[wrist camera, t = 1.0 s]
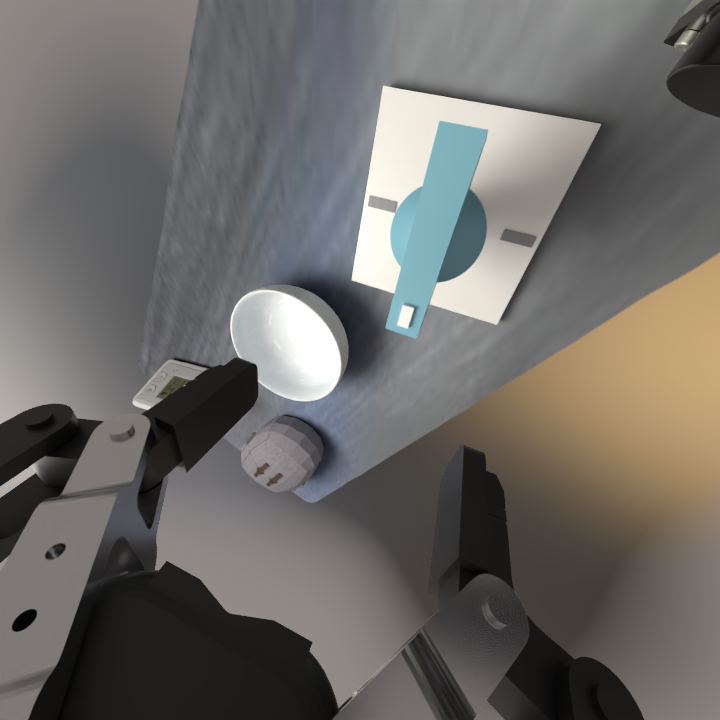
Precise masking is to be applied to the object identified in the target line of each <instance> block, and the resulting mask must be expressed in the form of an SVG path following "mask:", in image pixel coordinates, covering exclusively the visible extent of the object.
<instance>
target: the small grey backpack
mask: <svg viewBox="0 0 720 720" xmlns="http://www.w3.org/2000/svg"><path fill="white" fill-rule="evenodd" d="M244 444H245V445H244V446H243V447H242V449H241V461H242V467H243V469H244V470H245V471H246V473H247V474H248V475H249V476H250V477H251V478H253V479H254V480H255V481H256V482H257V483H259V484H260V485H262V486H263V487H265V488H266V489H268V490H270V491H273V492H275V493H277V492H282V491H291V490H292V491H295V490H297V489H299V488H300V487H302V486H303V485H304V484H305V482H306V481H307V480H308V479H309V478H310V477H311V476H312V475H313V473H314V472H315V470H316V468H317V466H318V464H319V463H320V461H321V460H322V456H323V452H324V446H323V444H322V441H321V438H320V436H319V435H318V434H317V433H316V432H315V431H314V430H313V429H312V427H311V426H309V425H308V424H306V423H304V422H302V421H301V420H299V419H297V418H293V417H288V416H284V415H283V416H280V417H278V418H276V419H274V420H271V421H269V422H268V423H267V424H266V425H265V426H264V427H262V428H261V429H260V430H259V431H258V432H254V433H252V434H251V435H250V436H249V437H248V439H247V440H246V441H245V443H244Z"/></svg>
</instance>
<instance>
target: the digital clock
mask: <svg viewBox="0 0 720 720" xmlns="http://www.w3.org/2000/svg"><path fill="white" fill-rule="evenodd" d="M207 369H210V368H206V367H202V366H198V365H195V364H191V363H187V362H185V363H184V362H180V361H177V360H168V361H167V362H166V363H165V364H164V365H163V366H162V367H161V368H160V369H159V370H158V371H157V372H156V374H155V375H154V376H153V377H152V378H151V379H150V380H149V381H148V382H147V383H146V385H145V386H144V387H143V388H142V389H141V390H140V391H139V392H138V394H137V395H136V396H135V397H134V399H133V405H135V406H137V407H139V408H142V409H145V410H149V409H150V408H151V407H153V406H154V405H156V404H157V403H159V402H160V401H162V400H163V399H165V398H166V397H167V396H169V395H170V394H172V393H173V392H175V391H176V390H178V389H179V388H180V387H184V385H185V384H186V383H188V382H189V381H191V380H194V378H195V377H196V376H198V375H199V374H201V373H202V372H204V371H205V370H207Z"/></svg>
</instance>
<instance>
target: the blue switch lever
mask: <svg viewBox="0 0 720 720" xmlns="http://www.w3.org/2000/svg"><path fill="white" fill-rule="evenodd" d="M487 134H488V130H487V129H481V128H476V127H471V126H466V125H460V124H455V123H450V122H444V121H439V125H438V129H437V132H436V136H435V140H434V144H433V148H432V152H431V155H430V159H429V163H428V167H427V171H426V174H425V178H424V182H423V186H421V187H419V188H418V189H416V190H415V191H413V192H412V193H411V194H409V195H408V196H407V197H406V198H405V199H404V201H403V202H402V203H401V205H400V206H399V208H398V209H397V211H396V213H395V216H394V218H393V221H392V225H391V231H390V241H391V248H392V251H393V254H394V257H395V259H396V261H397V262H398V264H399V265H400V267H401V270H400V274H399V278H398V281H397V285H396V289H395V293H394V297H393V301H392V304H391V308H390V312H389V316H388V320H387V323H386V327H385V329H388V330H391V331H394V332H397V333H400V334H403V335H406V336H410V337H413V338H416V339H417V336H418V333H419V331H420V328H421V326H422V323H423V321H424V318H425V315H426V313H427V310H428V307H429V304H430V301H431V298H432V296H433V293H434V290H435V287H436V284H437V283H439V282H445V281H449V280H451V279H454V278H456V277H458V276H460V275H461V274H463V273H464V272H465V271H467V270H468V269H469V268H470V267H471V266H472V265H473V264H474V262H475V261H476V260H477V258H478V257H479V255H480V253H481V251H482V249H483V246H484V243H485V239H486V234H487V221H486V215H485V210H484V207H483V204H482V202H481V200H480V198H479V197H478V196H477V194H476V193H475V192H474V191H473V190H472V189H470V186H471V183H472V180H473V177H474V174H475V171H476V169H477V166H478V163H479V160H480V157H481V154H482V151H483V148H484V146H485V143H486V140H487Z"/></svg>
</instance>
